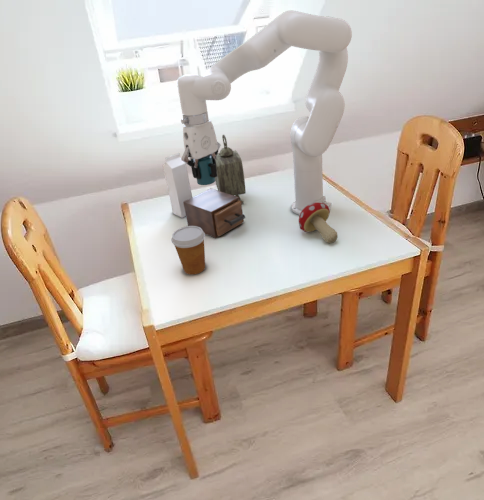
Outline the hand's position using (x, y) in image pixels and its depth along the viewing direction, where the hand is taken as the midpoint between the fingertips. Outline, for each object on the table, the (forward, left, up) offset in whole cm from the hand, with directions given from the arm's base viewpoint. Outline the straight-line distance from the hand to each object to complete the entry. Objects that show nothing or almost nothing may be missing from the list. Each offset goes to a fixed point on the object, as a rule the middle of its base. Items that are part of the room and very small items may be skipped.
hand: (205, 174), depth 142 cm
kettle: (0, 0, -3) cm, 3 cm away
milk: (+16, 0, -19) cm, 25 cm away
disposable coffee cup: (-16, +22, -19) cm, 33 cm away
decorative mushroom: (-35, -13, -19) cm, 42 cm away
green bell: (+8, -17, -19) cm, 27 cm away
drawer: (-5, 0, -18) cm, 18 cm away
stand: (-1, 0, -19) cm, 19 cm away
